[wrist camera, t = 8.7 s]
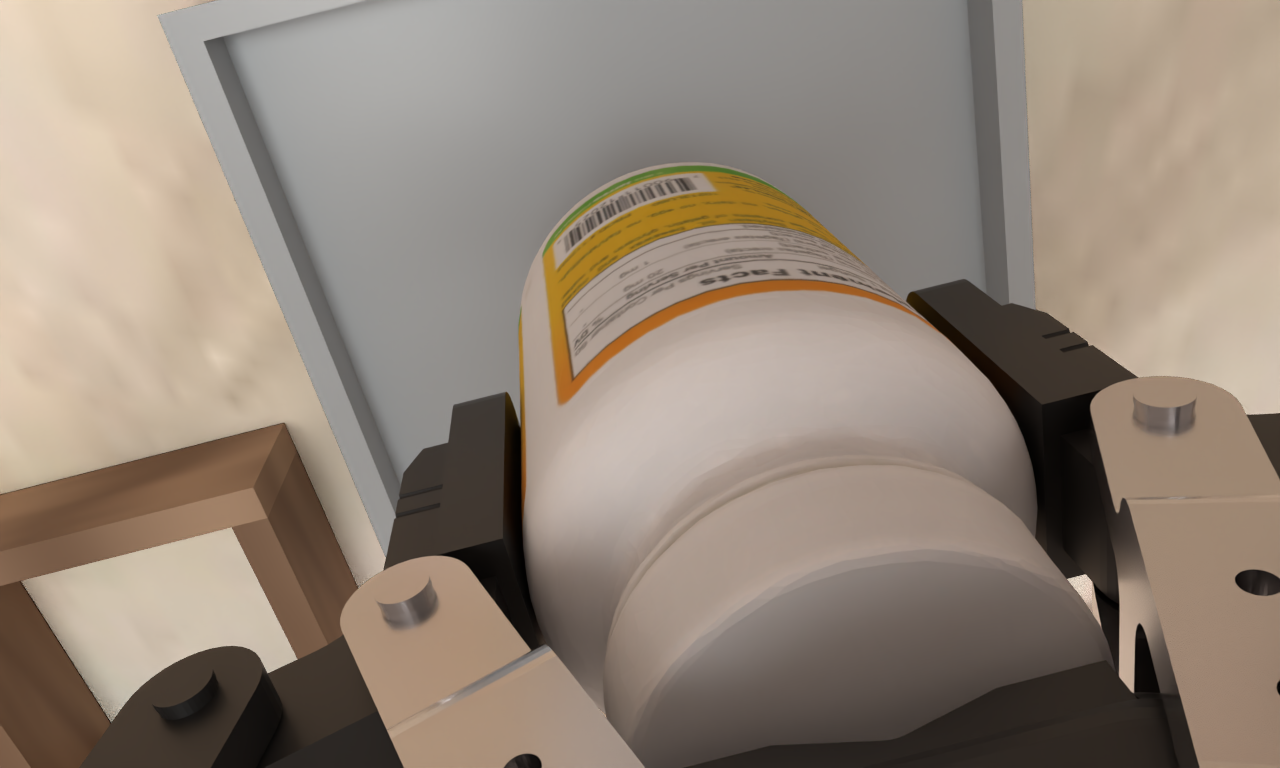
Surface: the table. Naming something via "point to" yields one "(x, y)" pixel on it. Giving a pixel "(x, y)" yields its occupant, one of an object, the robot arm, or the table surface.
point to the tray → (579, 162)
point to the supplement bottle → (767, 482)
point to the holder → (140, 519)
